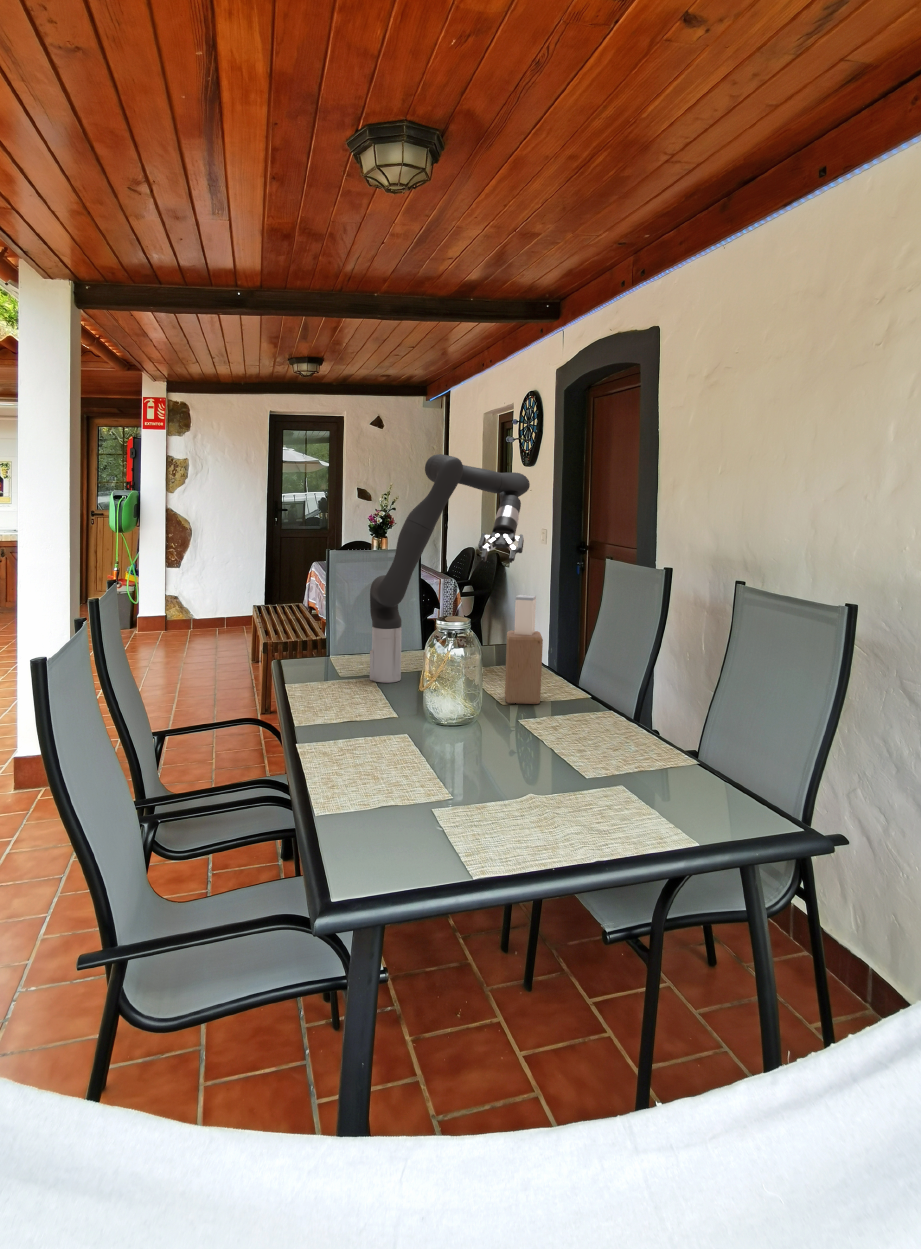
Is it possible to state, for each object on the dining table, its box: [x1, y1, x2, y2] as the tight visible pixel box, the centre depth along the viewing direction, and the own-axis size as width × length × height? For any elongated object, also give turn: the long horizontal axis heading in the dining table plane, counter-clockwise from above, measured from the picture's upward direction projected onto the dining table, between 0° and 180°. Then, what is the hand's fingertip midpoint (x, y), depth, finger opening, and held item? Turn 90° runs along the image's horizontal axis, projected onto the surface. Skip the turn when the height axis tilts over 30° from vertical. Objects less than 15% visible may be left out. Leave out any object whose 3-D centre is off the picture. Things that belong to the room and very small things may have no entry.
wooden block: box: [504, 630, 544, 705], centre depth 237 cm, size 10×10×20 cm
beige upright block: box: [514, 594, 537, 635], centre depth 235 cm, size 5×5×11 cm
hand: (497, 560), depth 258 cm, fingers open, 8 cm apart
